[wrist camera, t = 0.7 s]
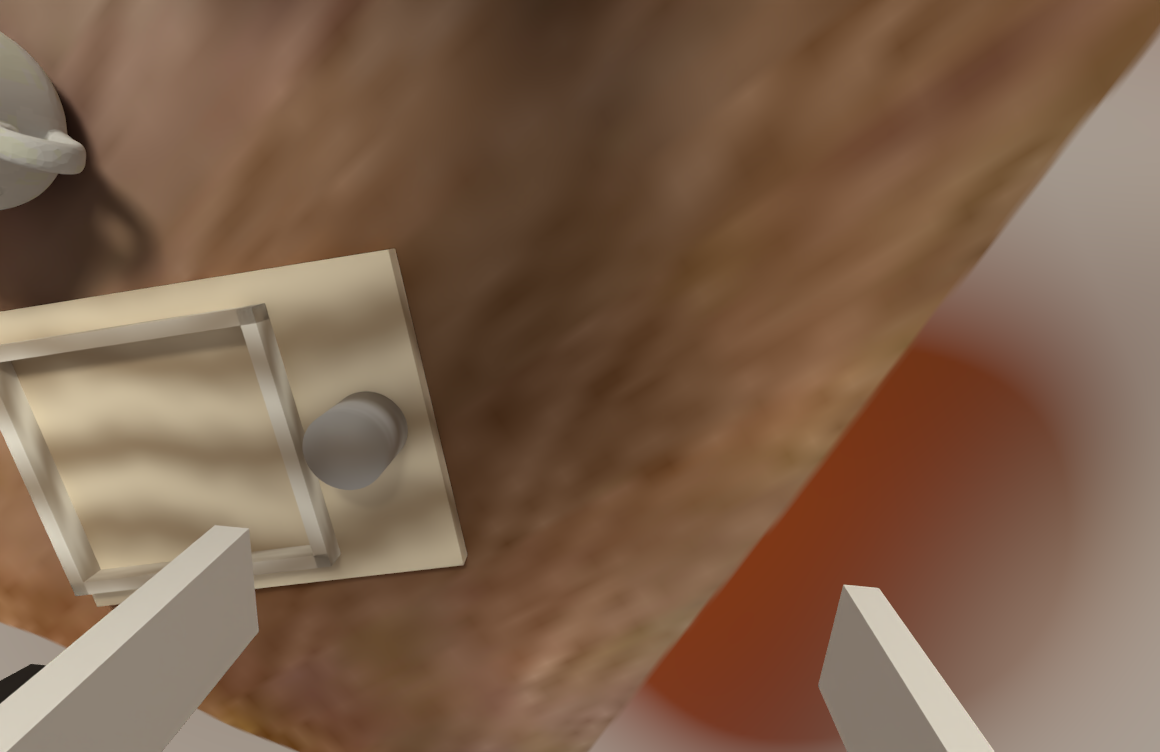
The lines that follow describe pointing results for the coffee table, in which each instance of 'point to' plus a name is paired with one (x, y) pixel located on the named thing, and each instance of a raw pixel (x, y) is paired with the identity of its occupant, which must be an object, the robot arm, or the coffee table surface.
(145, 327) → the carrier board
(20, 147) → the teacup
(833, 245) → the coffee table surface
